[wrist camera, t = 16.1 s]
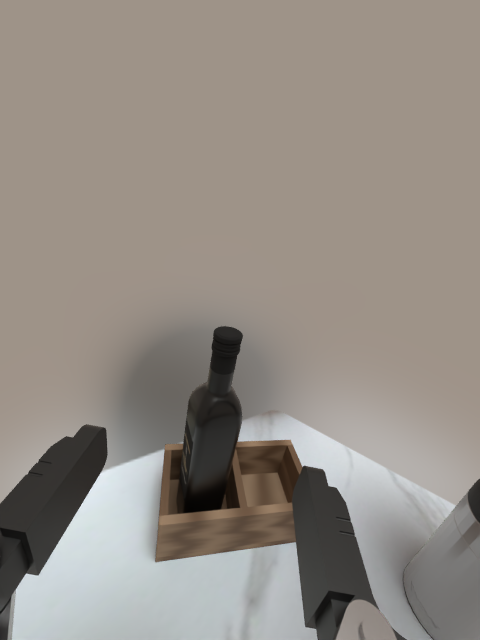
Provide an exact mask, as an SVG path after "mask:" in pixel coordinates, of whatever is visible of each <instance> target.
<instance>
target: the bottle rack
mask: <svg viewBox="0 0 480 640" xmlns="http://www.w3.org/2000/svg"><path fill="white" fill-rule="evenodd" d="M182 451H183V444H166V445H165V452H164V464H163V476H162V488H161V500H160V512H159V524H158V536H157V548H156V561H155V562H159V561H166V560H173V559H180V558H187V557H194V556H201V555H208V554H215V553H222V552H229V551H236V550H243V549H250V548H257V547H264V546H271V545H278V544H285V543H292V542H296V536H295V527H294V518H293V508H292V496H293V490H294V487H295V485H296V482H297V480H298V477H299V475H300V472H301V470H302V465H301V463H300V461H299V458H298V456H297V454H296V451H295V449H294V447H293V444H292V442H291V440H273V441H246V442H237V445H236V449H235V453H234V458H233V462H232V466H231V470H230V474H229V479H228V483H227V487H226V491H225V495H224V500H223V504H222V508H221V510H213V511H204V512H194V513H184V514H178V507H177V501H176V500H177V492H178V483H179V475H180V467H181V459H182Z"/></svg>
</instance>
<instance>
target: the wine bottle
mask: <svg viewBox="0 0 480 640" xmlns="http://www.w3.org/2000/svg"><path fill="white" fill-rule="evenodd" d="M213 336H214V337H213V343H212V357H211V364H210V370H209V376H208V382H206V383H204V384H201V385H199V386H198V387H197V388H196V389H195V390H194V391H193V392H192V394H191V396H190V398H189V402H188V410H187V418H186V427H185V435H184V443H183V451H182V459H181V467H180V475H179V483H178V492H177V500H176V501H177V507H178V514H184V513H194V512H204V511H213V510H221V508H222V504H223V500H224V495H225V491H226V487H227V483H228V479H229V474H230V470H231V466H232V462H233V458H234V453H235V449H236V445H237V441H238V437H239V432H240V428H241V424H242V411H241V404H240V401H239V399H238V397H237V395H236V393H235V391H234V389H233V388H232V386H231V384H232V379H233V374H234V369H235V364H236V359H237V355H238V354H239V352H240V344H241V341H242V337H243V335H242V333H241V332H240V331H239V330H237V329H235V328H232V327H226V326H224V327H218V328H216V329H215V330H214V335H213Z"/></svg>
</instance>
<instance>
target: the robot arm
mask: <svg viewBox="0 0 480 640" xmlns="http://www.w3.org/2000/svg"><path fill="white" fill-rule="evenodd" d="M106 459H107V438H106V429H105V428H103V427H98V426H92V425H84V426H82V427H81V428H80V430H79V431H78V432H77V433H76V435H75V436H74V437H73V438H72V437H67V436H66V437H64V438H63V439H61V440H60V441H58V442H57V443H56V444H54V445H53V446H51V447H50V448H49V449H48V450H47V452H46V453H45V454H44V455H43V456H42V457H41V458H40V459H39V462H38V463H36V464H35V465H34V466H33V467H32V469H31V470H30V471H29V473H28V474H27V475H25V477H24V478H23V479H22V480H21V481H20V482H19V483H18V484H17V485H16V487H15V488H14V489H13V490H12V491H11V492H10V493H9V495H8V496H7V497H6V498H5V499H4V500H3V501H2V502H1V504H0V640H12V631H13V618H14V606H15V594H16V588H17V587H18V585H19V583H20V582H21V580H22V579H23V577H24V576H25V574H26V573H27V574H32V575H39V573H40V572H41V570H42V568H43V567H44V565H45V564H46V562H47V560H48V559H49V557H50V555H51V554H52V552H53V550H54V549H55V547H56V545H57V544H58V542H59V540H60V539H61V537H62V536H63V534H64V532H65V531H66V529H67V527H68V526H69V524H70V522H71V521H72V519H73V517H74V516H75V514H76V512H77V511H78V509H79V507H80V506H81V504H82V503H83V501H84V499H85V498H86V496H87V494H88V493H89V491H90V489H91V488H92V486H93V484H94V483H95V481H96V479H97V478H98V476H99V474H100V473H101V471H102V469H103V467H104V465H105V462H106ZM292 508H293V518H294V527H295V536H296V545H297V555H298V564H299V573H300V582H301V592H302V601H303V610H304V619H305V627H309V628H314V629H316V630H317V637H318V640H406V639H405V638H403V637H402V636H401V635H399V634H398V633H397V632H396V631H395V630H394V629H393V628H392V627H391V626H390V624H389V622H388V621H387V619H386V618H385V617H384V615H383V614H382V613H381V612H380V610H379V608H378V607H377V604H376V602H375V600H374V597H373V594H372V591H371V588H370V584H369V581H368V578H367V574H366V571H365V567H364V564H363V560H362V557H361V554H360V550H359V547H358V543H357V540H356V537H355V535H354V534H355V533H354V530H353V526H352V523H351V522H350V520H351V519H350V516H349V512H348V509H347V505H346V502H345V501H344V499H343V498H342V496H341V494H340V493H339V491H338V490H337V488H335V487H330V486H328V483H327V479H326V475H325V472H324V470H323V469H318V468H313V467H308V466H303V468H302V470H301V472H300V475H299V477H298V480H297V482H296V485H295V487H294V490H293V496H292ZM404 587H405V592H406V595H407V598H408V601H409V603H410V605H411V607H412V609H413V611H414V613H415V615H416V616H417V618H418V619H419V621H420V623H421V624H422V625H423V627H424V628H425V629H426V631H427V632H428V633H429V634H430V635H431V636H432V638H433V639H434V640H480V479H479V480H478V481H477V482H476V483H475V484H474V485H473V486H472V488H471V489H470V490H469V491H468V493H467V494H466V495H465V496H464V497H463V498H462V500H461V501H460V502H459V503H458V505H457V506H456V507H455V508H454V510H453V511H452V512H451V513H450V515H449V516H448V517H447V518H446V519H445V521H444V522H443V523H442V524H441V525H440V527H439V528H438V529H437V530H436V531H435V533H434V534H433V535H432V536H431V538H430V539H429V540H428V541H427V542H426V544H425V545H424V546H423V547H422V548H421V550H420V551H419V552H418V553H417V554H416V555H415V557H414V558H413V559H412V560H411V562H410V563H409V564H408V565H407V567H406V568H405V571H404Z"/></svg>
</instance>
